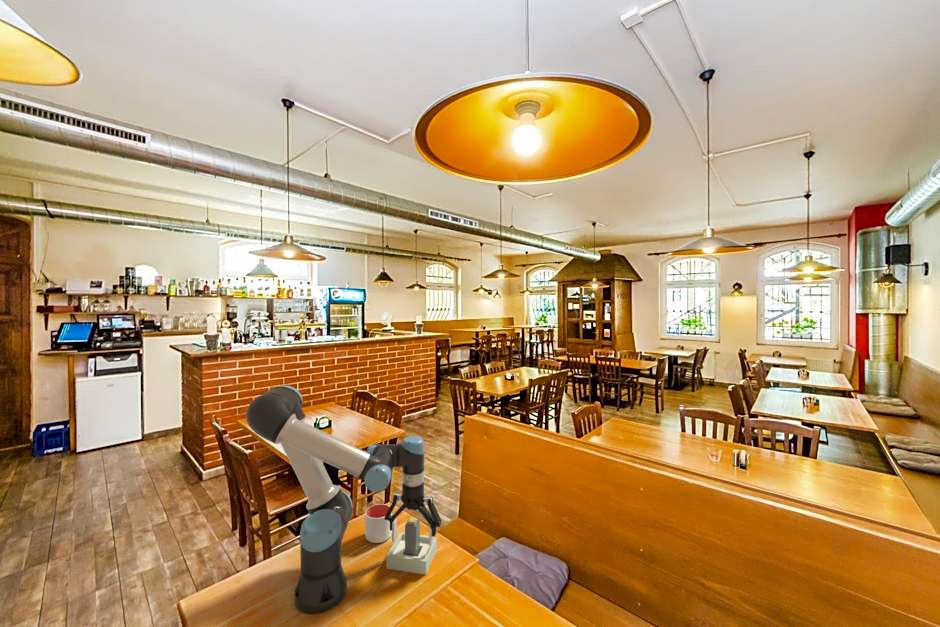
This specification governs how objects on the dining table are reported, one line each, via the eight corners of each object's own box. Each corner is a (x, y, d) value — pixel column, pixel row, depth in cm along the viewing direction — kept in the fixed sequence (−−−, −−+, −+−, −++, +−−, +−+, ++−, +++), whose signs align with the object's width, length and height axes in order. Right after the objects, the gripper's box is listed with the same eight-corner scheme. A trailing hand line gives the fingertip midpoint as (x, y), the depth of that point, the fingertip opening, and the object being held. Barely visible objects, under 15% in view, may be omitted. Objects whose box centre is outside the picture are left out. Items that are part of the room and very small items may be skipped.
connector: (404, 561, 131) (405, 522, 131) (409, 554, 135) (409, 515, 135) (415, 563, 130) (416, 523, 130) (419, 555, 134) (419, 517, 134)
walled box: (386, 568, 128) (386, 555, 128) (400, 544, 140) (400, 532, 140) (425, 574, 125) (426, 561, 125) (437, 549, 138) (437, 537, 138)
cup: (397, 534, 146) (397, 508, 146) (378, 548, 138) (378, 521, 138) (378, 525, 152) (378, 501, 151) (359, 538, 143) (359, 513, 143)
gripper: (375, 483, 130) (374, 543, 131) (444, 491, 126) (444, 553, 126) (384, 473, 138) (383, 530, 139) (450, 481, 133) (449, 539, 134)
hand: (412, 541), depth 133 cm, fingers open, 13 cm apart
